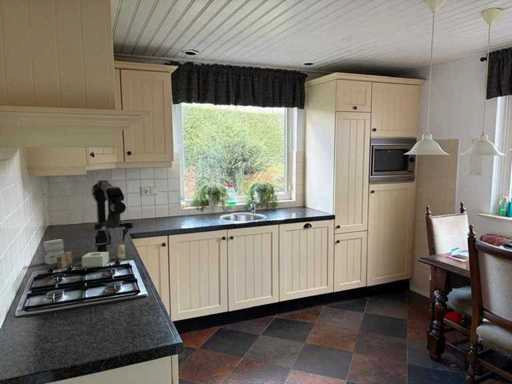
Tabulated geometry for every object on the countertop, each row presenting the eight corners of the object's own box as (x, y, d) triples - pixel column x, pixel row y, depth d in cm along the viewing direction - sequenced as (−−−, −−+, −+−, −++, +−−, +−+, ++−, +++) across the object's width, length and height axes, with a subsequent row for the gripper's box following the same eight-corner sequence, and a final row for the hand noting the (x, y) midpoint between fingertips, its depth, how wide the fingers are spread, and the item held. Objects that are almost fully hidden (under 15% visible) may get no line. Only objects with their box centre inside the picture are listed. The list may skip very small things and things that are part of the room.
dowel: (119, 259, 210) (118, 245, 209) (126, 259, 210) (125, 244, 209) (117, 261, 206) (116, 246, 205) (124, 260, 206) (123, 246, 206)
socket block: (89, 262, 200) (88, 252, 200) (108, 261, 201) (108, 251, 201) (82, 267, 190) (81, 257, 190) (102, 266, 191) (102, 256, 191)
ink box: (61, 259, 212) (59, 238, 211) (65, 261, 209) (63, 239, 208) (44, 263, 206) (42, 241, 205) (48, 264, 202) (46, 242, 202)
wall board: (68, 264, 201) (67, 251, 201) (130, 261, 203) (130, 248, 203) (57, 271, 188) (56, 257, 188) (124, 268, 190) (123, 254, 190)
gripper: (89, 214, 186) (91, 246, 187) (128, 213, 187) (130, 244, 188) (97, 211, 197) (99, 241, 198) (134, 210, 198) (135, 240, 199)
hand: (115, 242), depth 196 cm, fingers open, 8 cm apart
